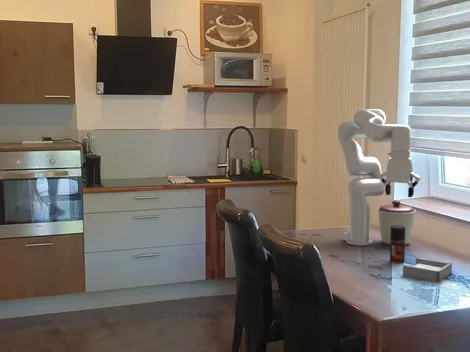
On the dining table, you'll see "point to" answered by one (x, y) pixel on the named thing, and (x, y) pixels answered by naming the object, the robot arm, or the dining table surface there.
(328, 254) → the dining table surface
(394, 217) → the canister
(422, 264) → the tile back
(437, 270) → the tile front
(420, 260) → the grey u-shaped bracket
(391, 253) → the deodorant
